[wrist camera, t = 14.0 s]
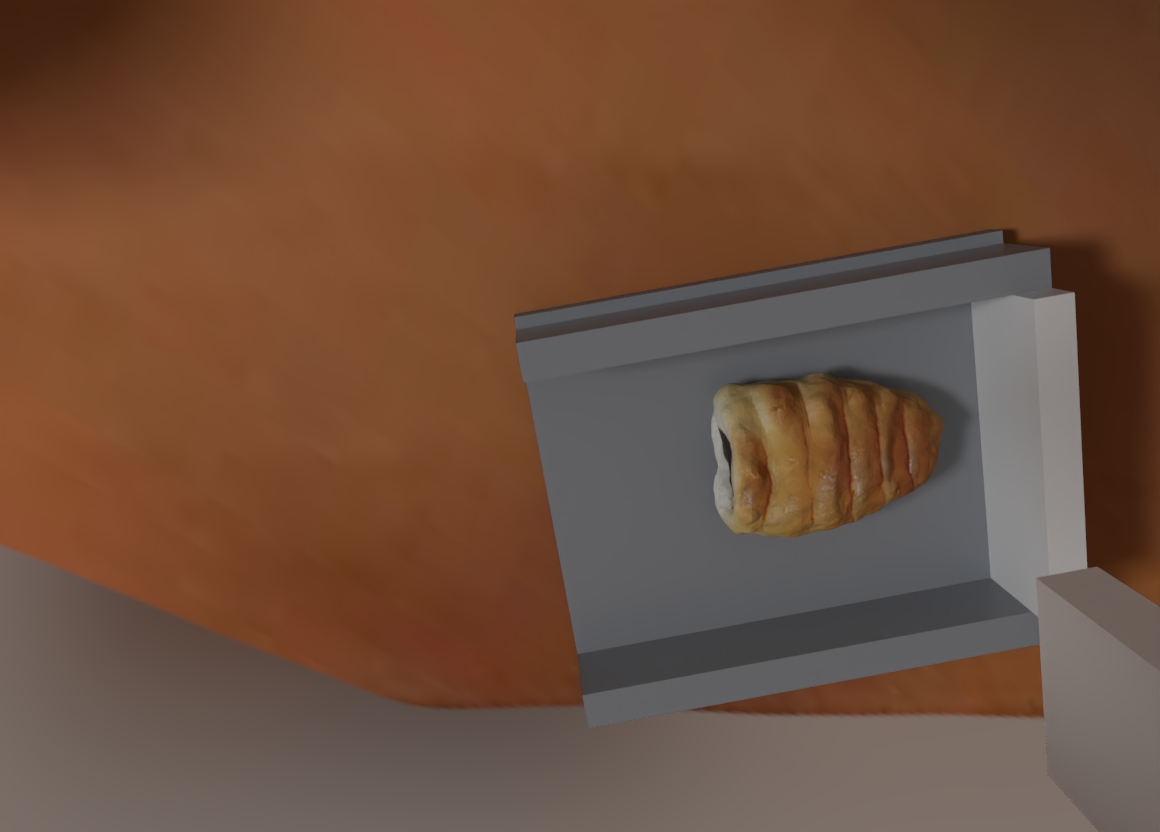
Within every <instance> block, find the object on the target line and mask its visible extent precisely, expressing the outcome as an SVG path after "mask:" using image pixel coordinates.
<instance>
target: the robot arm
mask: <svg viewBox="0 0 1160 832" xmlns="http://www.w3.org/2000/svg"><path fill="white" fill-rule="evenodd" d="M1036 587H1037V604H1038V620H1039V637H1040V654H1041V671H1042V687H1043V704H1044V721H1045V737H1046V754H1047V769H1048V770H1047V771H1048V776H1049V777H1050V778H1051V779H1052V780H1053V781H1054V782H1055V783H1056V785H1057V786H1058V787H1059V788H1060V789H1061V790H1062V791H1063V792H1064V794H1065V795H1066V796H1067V797H1068V798H1069V799H1070V800H1071V801H1072V802H1073V804H1074V805H1075V806H1076V807H1077V808H1078V809H1079V810H1080V811H1081V812H1082V813H1083V815H1084V816H1085V817H1086V818H1087V819H1088V820H1089V821H1090V822H1091V823H1092V825H1093V826H1094V827H1095V828H1096V829H1097V830H1098V831H1099V832H1160V607H1159V606H1157V605H1155V604H1154V603H1152V602H1151V601H1149V600H1148V599H1146V598H1145V597H1143V596H1142V595H1140V594H1139V593H1137V592H1136V591H1134V590H1133V589H1131V588H1129V587H1128V586H1126V585H1125V584H1123V583H1122V582H1120V581H1119V580H1117V579H1116V578H1114V577H1113V576H1111V575H1110V574H1108V573H1107V572H1105V571H1103V570H1102V569H1100V568H1099V567H1092V568H1087V569H1081V570H1076V571H1071V572H1065V573H1060V574H1054V575H1049V576H1044V577H1038V578H1036Z"/></svg>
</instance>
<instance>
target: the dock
mask: <svg viewBox="0 0 1160 832" xmlns="http://www.w3.org/2000/svg"><path fill="white" fill-rule="evenodd" d="M514 319H515V324H516V347H517V352H518V357H519V363H520V368H521V373H522V378H523V383H525V382H526V383H527V388H528V393H529V399H530V404H531V409H532V415H533V420H534V425H535V431H536V436H537V441H538V447H539V452H540V457H541V463H542V468H543V473H544V478H545V484H546V489H547V494H548V500H549V505H550V510H551V516H552V521H553V526H554V532H555V537H556V542H557V548H558V553H559V558H560V563H561V569H562V574H563V579H564V585H565V590H566V595H567V601H568V606H569V611H570V617H571V622H572V627H573V633H574V638H575V643H576V648H577V654H578V662H579V670H580V679H581V687H582V696H583V701H584V706H585V712H586V717H587V722H588V727H589V728H593V727H598V726H603V725H609V724H614V723H619V722H625V721H630V720H636V719H641V718H646V717H652V716H657V715H663V714H667V713H673V712H679V711H684V710H689V709H695V708H700V707H706V706H711V705H716V704H722V703H727V702H732V701H738V700H743V699H749V698H754V697H759V696H765V695H770V694H775V693H781V692H786V691H792V690H797V689H802V688H808V687H813V686H818V685H824V684H829V683H835V682H840V681H845V680H851V679H856V678H861V677H867V676H872V675H878V674H883V673H888V672H894V671H899V670H904V669H910V668H915V667H921V666H926V665H931V664H937V663H942V662H947V661H953V660H958V659H964V658H969V657H974V656H980V655H985V654H990V653H996V652H1001V651H1007V650H1012V649H1017V648H1023V647H1028V646H1033V645H1039V644H1040V637H1039V620H1038V604H1037V587H1036V578H1038V577H1044V576H1049V575H1054V574H1060V573H1065V572H1071V571H1076V570H1081V569H1087V551H1086V529H1085V507H1084V485H1083V463H1082V441H1081V420H1080V398H1079V376H1078V354H1077V332H1076V310H1075V292H1071V291H1066V290H1060V289H1055V288H1052V279H1051V259H1050V248H1047V247H1038V246H1029V245H1019V244H1010V243H1003V230H992V229H990V230H984V231H979V232H973V233H968V234H962V235H956V236H951V237H945V238H940V239H934V240H928V241H923V242H917V243H912V244H906V245H900V246H895V247H889V248H883V249H878V250H872V251H867V252H861V253H855V254H850V255H844V256H839V257H833V258H827V259H822V260H816V261H811V262H805V263H799V264H794V265H788V266H782V267H777V268H771V269H766V270H760V271H754V272H749V273H743V274H738V275H732V276H726V277H721V278H715V279H709V280H704V281H698V282H693V283H687V284H681V285H676V286H670V287H665V288H659V289H653V290H648V291H642V292H637V293H631V294H625V295H620V296H614V297H608V298H603V299H597V300H592V301H586V302H580V303H575V304H569V305H564V306H558V307H552V308H547V309H541V310H536V311H530V312H524V313H519V314H514ZM813 373H826V374H829V375H831V376H833V377H836V378H843V379H851V380H853V379H857V380H869V381H872V382H875V383H877V384H879V385H882V386H885V387H887V388H893V389H899V390H905V391H911V392H914V393H916V394H918V395H919V396H920V397H921V398H922V399H923V400H924V401H925V402H926V403H927V404H928V405H929V406H930V407H931V408H932V409H933V410H934V411H935V412H937V413H938V414H939V416H940V417H941V418H942V420H943V426H944V429H943V434H942V436H941V438H940V448H939V454H938V459H937V463H936V466H935V468H934V470H933V472H932V473H931V475H930V477H929V478H928V480H927V482H926V483H925V484H923V485H921V486H920V487H919V488H917V489H916V490H915V491H913V492H911V493H908V494H907V495H905V496H903V497H900V498H898V499H895V500H893V501H892V502H890V503H888V504H886V505H885V506H884V507H883V508H882V509H881V510H880V511H878V512H875V513H872V514H868V515H866V516H864V517H863V518H862V519H860V520H859V521H857V522H855V523H849V524H845V525H842V526H840V527H838V528H835V529H832V530H827V531H817V532H813V533H810V534H806V535H803V536H800V537H796V538H788V537H773V536H767V537H766V536H762V535H759V534H743V535H739V534H736V533H735V532H733V531H732V530H731V529H730V528H729V527H728V526H727V525H726V524H725V522H724V521H723V520H722V518H721V516H720V514H719V512H718V510H717V508H716V505H715V494H714V490H713V487H714V479H715V475H716V474H717V469H718V463H717V460H716V456H715V452H714V444H713V440H712V437H711V419H712V415H713V412H714V403H713V400H714V396H715V394H716V393H717V391H718V390H719V389H720V388H721V387H722V386H725V385H727V384H728V383H739V384H748V383H756V382H759V381H766V380H776V381H777V380H783V381H784V380H794V379H801V378H804V377H806V376H808V375H810V374H813Z"/></svg>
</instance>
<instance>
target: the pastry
mask: <svg viewBox="0 0 1160 832" xmlns="http://www.w3.org/2000/svg"><path fill="white" fill-rule="evenodd" d="M713 403H714V412H713V415H712V419H711V437H712V440H713V444H714V452H715V456H716V460H717V463H718V469H717V474H716V475H715V479H714V487H713V490H714V494H715V505H716V508H717V510H718V512H719V514H720V516H721V518H722V520H723V521H724V522H725V524H726V525H727V526H728V527H729V528H730V529H731V530H732V531H733V532H735V533H736V534H739V535H743V534H759V535H762V536H766V537H767V536H773V537H788V538H796V537H800V536H803V535H806V534H810V533H813V532H817V531H827V530H832V529H835V528H838V527H840V526H842V525H845V524H849V523H855V522H857V521H859V520H860V519H862V518H863V517H864V516H866V515H868V514H872V513H875V512H878V511H880V510H881V509H882V508H883V507H884V506H885V505H886V504H888V503H890V502H892V501H893V500H895V499H898V498H900V497H903V496H905V495H907V494H908V493H911V492H913V491H915V490H916V489H917V488H919V487H920V486H921V485H923V484H925V483H926V482H927V480H928V478H929V477H930V475H931V473H932V472H933V470H934V468H935V466H936V463H937V459H938V454H939V448H940V438H941V436H942V434H943V429H944V426H943V420H942V418H941V417H940V416H939V414H938V413H937V412H935V411H934V410H933V409H932V408H931V407H930V406H929V405H928V404H927V403H926V402H925V401H924V400H923V399H922V398H921V397H920V396H919V395H918V394H916V393H914V392H911V391H905V390H899V389H893V388H887V387H885V386H882V385H879V384H877V383H875V382H872V381H869V380H857V379H853V380H851V379H843V378H836V377H833V376H831V375H829V374H826V373H813V374H810V375H808V376H806V377H804V378H801V379H794V380H784V381H783V380H777V381H776V380H766V381H759V382H756V383H748V384H739V383H728V384H727V385H725V386H722V387H721V388H720V389H719V390H718V391H717V393H716V394H715V396H714V400H713Z"/></svg>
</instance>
